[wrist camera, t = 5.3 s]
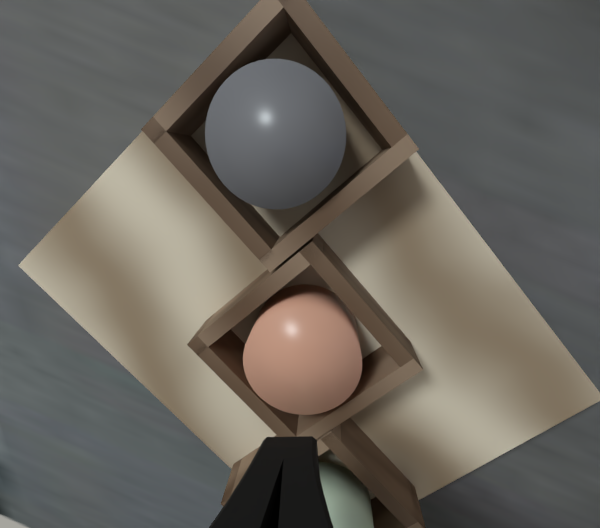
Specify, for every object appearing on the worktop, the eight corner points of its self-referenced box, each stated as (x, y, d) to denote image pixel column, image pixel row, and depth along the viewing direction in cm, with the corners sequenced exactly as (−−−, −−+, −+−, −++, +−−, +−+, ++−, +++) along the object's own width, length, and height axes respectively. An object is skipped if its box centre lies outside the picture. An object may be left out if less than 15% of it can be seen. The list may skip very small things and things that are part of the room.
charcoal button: (290, 50, 13) (280, 22, 10) (367, 148, 13) (375, 145, 11) (204, 136, 14) (176, 131, 11) (280, 223, 14) (269, 236, 12)
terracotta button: (311, 264, 15) (308, 284, 12) (378, 339, 15) (387, 373, 13) (236, 324, 16) (218, 355, 13) (301, 392, 17) (296, 433, 14)
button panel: (287, -7, 13) (274, -60, 10) (585, 382, 17) (647, 435, 13) (39, 258, 17) (-29, 281, 14) (321, 531, 20) (319, 602, 17)
